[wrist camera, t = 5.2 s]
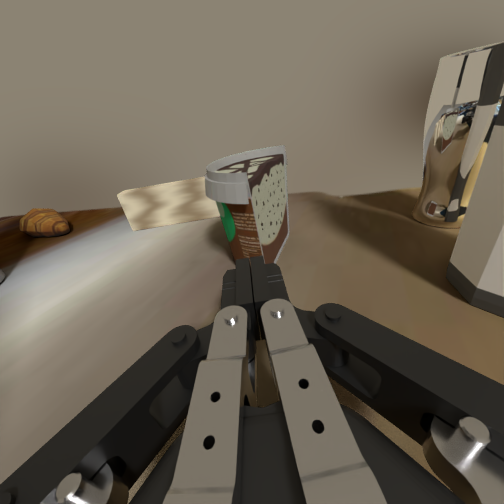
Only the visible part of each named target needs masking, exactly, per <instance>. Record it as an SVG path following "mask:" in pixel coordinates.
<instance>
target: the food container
mask: <svg viewBox="0 0 504 504" xmlns="http://www.w3.org/2000/svg"><path fill="white" fill-rule="evenodd" d="M286 165H287V157H286V151H285V146H284V145H283V146H275V147H268V148H262V149H257V150H252V151H247V152H243V153H239V154H235V155H231V156H228V157H225V158H222V159H219V160H217V161H214V162H212V163H211V164H209V165H208V166H207V167H206V170H207V173H206V175H205V193H206V196H207V197H208V198H210V199H211V200H214V201H216V204H217V207H218V210H219V214H220V217H221V220H222V223H223V226H224V229H225V232H226V235H227V238H228V241H229V244H230V247H231V250H232V254H233V257H234V260H235V263H236V260H237V259H243V258H249V260H250V257H255V256H261V255H263V257H264V262H265V264H269V263H275V264H276V262H277V259H278V257H279V255H280V253H281V251H282V249H283V247H284V245H285V243H286V240H287V238H288V236H289V234H290V233H289V214H288V194H287V175H286ZM250 265H251V263H250Z"/></svg>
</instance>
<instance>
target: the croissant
mask: <svg viewBox="0 0 504 504" xmlns="http://www.w3.org/2000/svg"><path fill="white" fill-rule="evenodd" d="M19 230H20V231H22V232H24V233H26V234H28V235H31V236H33V237H44V236H46V237H51V236H59V235H64V234H66V233H68V232H69V231H70V229H69V225H68V221H67V220H66V219H65V218H64V217H63V216H62V215H60V214H59V213H58V212H57V211H55V210H53V209H32V210H31V211H30V212H28V213H27V214H26V215H25V216H23V217H22V218H21V219H20V228H19Z"/></svg>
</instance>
